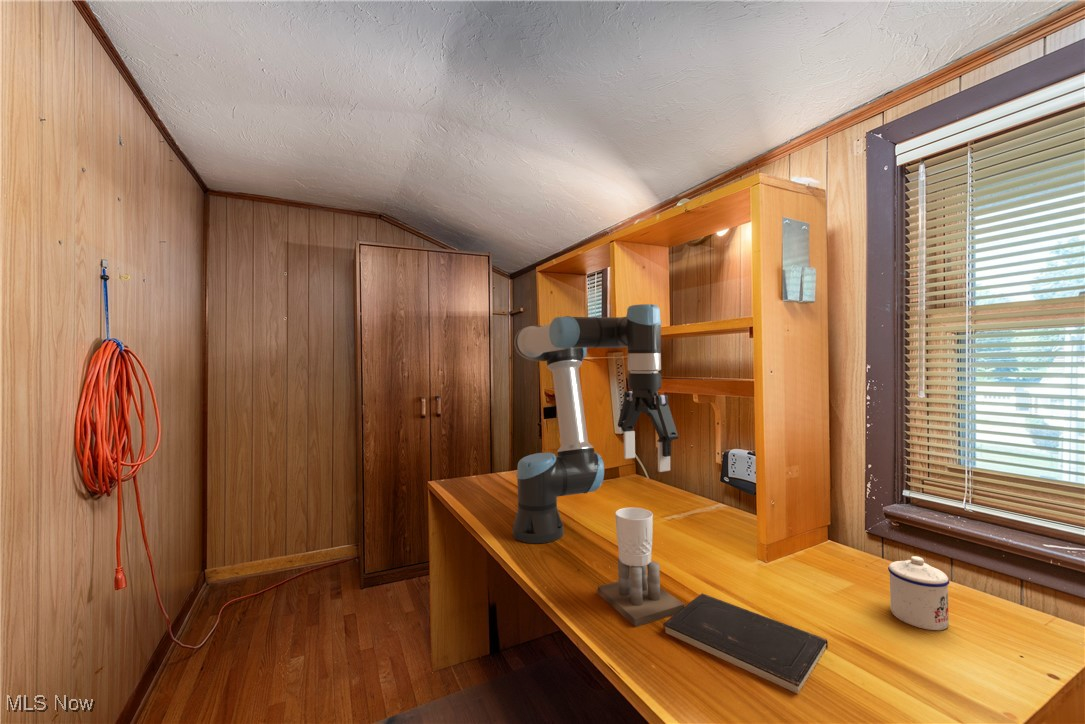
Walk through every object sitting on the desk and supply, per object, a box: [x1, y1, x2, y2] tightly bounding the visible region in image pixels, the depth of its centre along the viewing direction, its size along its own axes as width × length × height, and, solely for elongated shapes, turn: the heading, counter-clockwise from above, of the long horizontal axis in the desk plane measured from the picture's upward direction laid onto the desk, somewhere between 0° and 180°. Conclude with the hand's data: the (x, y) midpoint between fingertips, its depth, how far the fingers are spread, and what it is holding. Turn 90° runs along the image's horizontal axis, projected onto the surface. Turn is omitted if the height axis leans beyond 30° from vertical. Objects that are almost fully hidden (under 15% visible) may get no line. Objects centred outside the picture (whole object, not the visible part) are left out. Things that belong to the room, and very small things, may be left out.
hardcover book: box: [662, 592, 829, 695], centre depth 82 cm, size 16×23×2 cm
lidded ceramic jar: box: [887, 555, 950, 631], centre depth 88 cm, size 12×9×12 cm
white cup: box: [614, 507, 654, 567], centre depth 96 cm, size 8×8×10 cm
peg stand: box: [597, 558, 685, 628], centre depth 95 cm, size 14×12×8 cm
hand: (645, 464), depth 104 cm, fingers open, 13 cm apart
